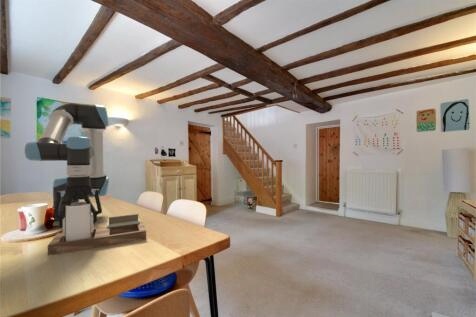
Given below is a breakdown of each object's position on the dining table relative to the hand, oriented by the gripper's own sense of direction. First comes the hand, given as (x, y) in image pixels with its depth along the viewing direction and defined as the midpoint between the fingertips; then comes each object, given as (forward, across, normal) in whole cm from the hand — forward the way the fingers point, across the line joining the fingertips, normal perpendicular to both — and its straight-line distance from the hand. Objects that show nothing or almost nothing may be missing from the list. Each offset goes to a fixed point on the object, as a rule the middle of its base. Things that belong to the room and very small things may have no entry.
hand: (78, 233), depth 86 cm
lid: (+1, +16, +11) cm, 20 cm away
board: (+4, +8, +7) cm, 11 cm away
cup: (+4, 0, 0) cm, 4 cm away
